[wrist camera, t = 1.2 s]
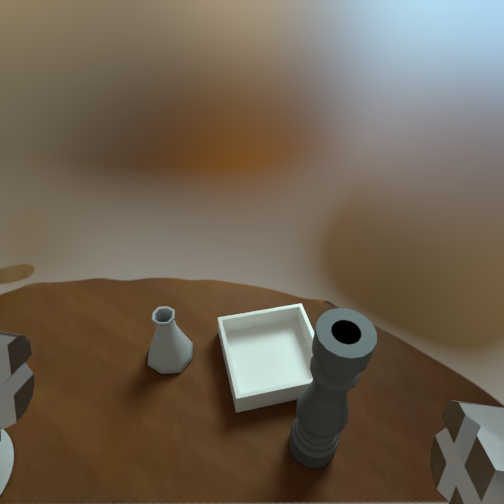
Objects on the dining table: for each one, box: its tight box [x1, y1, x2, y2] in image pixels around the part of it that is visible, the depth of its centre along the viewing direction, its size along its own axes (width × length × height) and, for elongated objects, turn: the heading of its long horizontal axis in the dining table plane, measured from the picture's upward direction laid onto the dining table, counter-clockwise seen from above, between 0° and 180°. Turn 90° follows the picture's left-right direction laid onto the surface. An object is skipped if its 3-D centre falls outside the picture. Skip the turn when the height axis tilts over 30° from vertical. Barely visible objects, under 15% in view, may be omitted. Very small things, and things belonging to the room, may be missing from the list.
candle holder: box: [289, 308, 377, 469], centre depth 47 cm, size 6×6×25 cm
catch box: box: [218, 303, 314, 413], centre depth 63 cm, size 14×14×4 cm
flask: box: [147, 306, 193, 374], centre depth 62 cm, size 7×7×10 cm
